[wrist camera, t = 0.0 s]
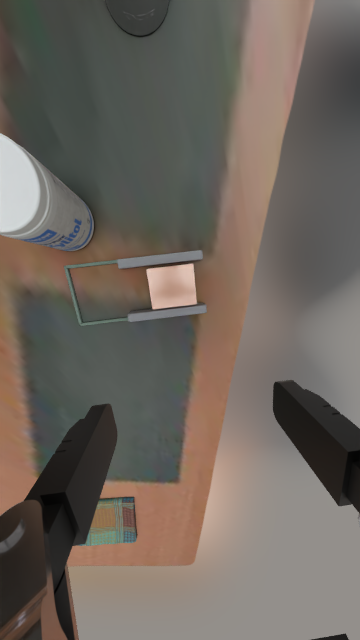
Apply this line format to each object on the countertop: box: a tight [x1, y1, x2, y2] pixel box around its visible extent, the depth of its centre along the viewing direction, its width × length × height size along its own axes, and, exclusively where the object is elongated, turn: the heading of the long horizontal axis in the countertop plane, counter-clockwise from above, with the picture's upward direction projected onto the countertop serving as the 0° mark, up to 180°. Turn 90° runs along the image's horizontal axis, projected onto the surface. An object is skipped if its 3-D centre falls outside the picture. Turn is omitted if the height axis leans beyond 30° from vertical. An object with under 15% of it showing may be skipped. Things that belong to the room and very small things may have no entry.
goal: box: [64, 260, 128, 326], centre depth 35 cm, size 12×10×1 cm
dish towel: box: [80, 497, 137, 546], centre depth 51 cm, size 17×23×2 cm
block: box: [146, 264, 197, 309], centre depth 34 cm, size 7×8×5 cm
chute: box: [117, 250, 207, 322], centre depth 35 cm, size 11×15×3 cm
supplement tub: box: [0, 133, 94, 251], centre depth 25 cm, size 10×10×15 cm
